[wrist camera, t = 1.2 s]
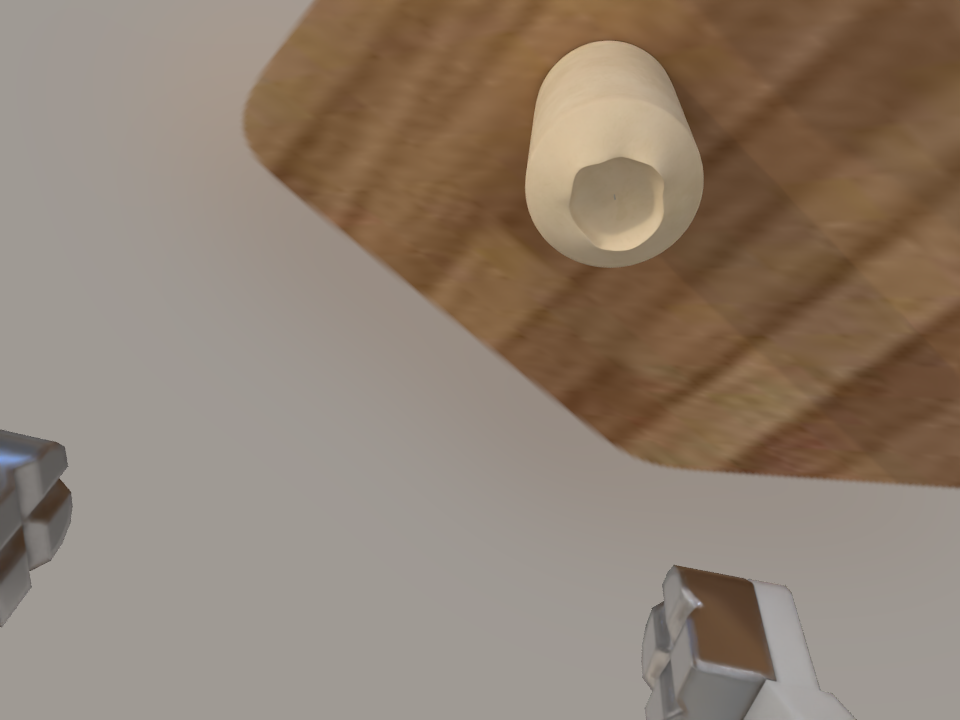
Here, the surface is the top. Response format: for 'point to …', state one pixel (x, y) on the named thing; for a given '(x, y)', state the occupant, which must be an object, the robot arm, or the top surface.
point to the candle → (611, 158)
